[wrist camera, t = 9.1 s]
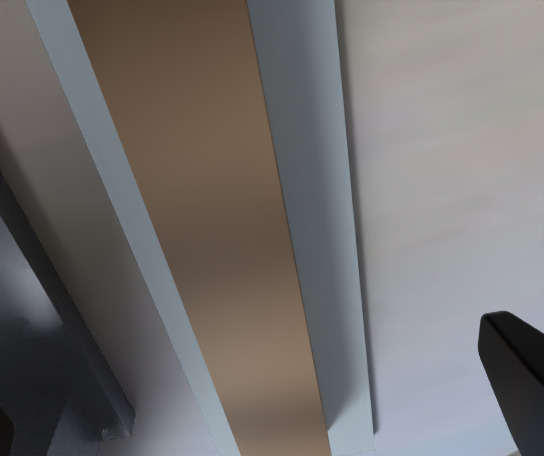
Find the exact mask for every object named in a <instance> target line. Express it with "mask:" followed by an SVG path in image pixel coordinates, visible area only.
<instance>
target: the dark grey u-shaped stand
mask: <svg viewBox="0 0 544 456" xmlns="http://www.w3.org/2000/svg"><path fill="white" fill-rule="evenodd" d="M0 405H1V406H2V407H3V408H4V410H5V411H6V412H7V413H8V415H9V416H10V417H11V418H12V420H13V422H14V424H15V436H14V440H13V445H12V450H11V454H10V456H96V455H97V452H98V448H99V444H100V441H103V440H109V439H115V438H121V437H128V436H131V433H132V428H133V424H134V419H135V415H136V414H135V413H134V411H133V409H132V407H131V406H130V404H129V402H128V400H127V398H126V397H125V395H124V393H123V391H122V389H121V388H120V386H119V384H118V382H117V380H116V379H115V377H114V375H113V373H112V371H111V370H110V368H109V366H108V364H107V363H106V361H105V359H104V357H103V355H102V354H101V352H100V350H99V348H98V346H97V345H96V343H95V341H94V339H93V337H92V336H91V334H90V332H89V330H88V328H87V327H86V325H85V323H84V321H83V320H82V318H81V316H80V314H79V312H78V311H77V309H76V307H75V305H74V303H73V302H72V300H71V298H70V296H69V294H68V293H67V291H66V289H65V287H64V285H63V284H62V282H61V280H60V278H59V277H58V275H57V273H56V271H55V269H54V268H53V266H52V264H51V262H50V260H49V259H48V257H47V255H46V253H45V251H44V250H43V248H42V246H41V244H40V242H39V241H38V239H37V237H36V235H35V234H34V232H33V230H32V228H31V226H30V225H29V223H28V221H27V219H26V217H25V216H24V214H23V212H22V210H21V208H20V207H19V205H18V203H17V201H16V199H15V198H14V196H13V194H12V192H11V191H10V189H9V187H8V185H7V183H6V182H5V180H4V178H3V176H2V174H1V173H0Z"/></svg>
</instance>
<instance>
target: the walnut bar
mask: <svg viewBox="0 0 544 456" xmlns="http://www.w3.org/2000/svg"><path fill="white" fill-rule="evenodd" d="M67 3H68V5H69V8H70V11H71V13H72V16H73V18H74V21H75V24H76V26H77V29H78V31H79V34H80V37H81V39H82V42H83V45H84V47H85V50H86V52H87V55H88V58H89V60H90V63H91V65H92V68H93V71H94V73H95V76H96V78H97V81H98V84H99V86H100V89H101V92H102V94H103V97H104V99H105V102H106V105H107V107H108V110H109V112H110V115H111V118H112V120H113V123H114V126H115V128H116V131H117V133H118V136H119V139H120V141H121V144H122V146H123V149H124V152H125V154H126V157H127V159H128V162H129V165H130V167H131V170H132V173H133V175H134V178H135V180H136V183H137V186H138V188H139V191H140V193H141V196H142V199H143V201H144V204H145V207H146V209H147V212H148V214H149V217H150V220H151V222H152V225H153V227H154V230H155V233H156V235H157V238H158V240H159V243H160V246H161V248H162V251H163V254H164V256H165V259H166V261H167V264H168V267H169V269H170V272H171V274H172V277H173V280H174V282H175V285H176V287H177V290H178V293H179V295H180V298H181V301H182V303H183V306H184V308H185V311H186V314H187V316H188V319H189V321H190V324H191V327H192V329H193V332H194V335H195V337H196V340H197V342H198V345H199V348H200V350H201V353H202V355H203V358H204V361H205V363H206V366H207V368H208V371H209V374H210V376H211V379H212V382H213V384H214V387H215V389H216V392H217V395H218V397H219V400H220V402H221V405H222V408H223V410H224V413H225V416H226V418H227V421H228V423H229V426H230V429H231V431H232V434H233V436H234V439H235V442H236V444H237V447H238V449H239V452H240V455H241V456H332V454H331V449H330V443H329V437H328V431H327V426H326V421H325V415H324V410H323V405H322V399H321V394H320V389H319V383H318V378H317V373H316V367H315V362H314V356H313V351H312V346H311V340H310V335H309V330H308V324H307V319H306V314H305V308H304V303H303V298H302V292H301V287H300V281H299V276H298V271H297V265H296V260H295V255H294V249H293V244H292V239H291V233H290V228H289V223H288V217H287V212H286V206H285V201H284V196H283V190H282V185H281V180H280V174H279V169H278V164H277V158H276V153H275V148H274V142H273V137H272V131H271V126H270V121H269V115H268V110H267V105H266V99H265V94H264V89H263V83H262V78H261V72H260V67H259V62H258V56H257V51H256V46H255V40H254V35H253V30H252V24H251V19H250V14H249V8H248V3H247V0H67Z"/></svg>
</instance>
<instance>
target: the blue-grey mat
mask: <svg viewBox="0 0 544 456" xmlns="http://www.w3.org/2000/svg"><path fill="white" fill-rule="evenodd" d="M25 1H26V4H27V6H28V8H29V11H30V13H31V15H32V18H33V20H34V22H35V25H36V27H37V29H38V32H39V34H40V36H41V39H42V41H43V44H44V46H45V48H46V51H47V53H48V55H49V58H50V60H51V62H52V65H53V67H54V69H55V72H56V74H57V76H58V79H59V81H60V83H61V86H62V88H63V90H64V93H65V95H66V97H67V100H68V102H69V104H70V107H71V109H72V111H73V114H74V116H75V118H76V121H77V123H78V126H79V128H80V130H81V133H82V135H83V137H84V140H85V142H86V144H87V147H88V149H89V151H90V154H91V156H92V158H93V161H94V163H95V165H96V168H97V170H98V172H99V175H100V177H101V179H102V182H103V184H104V186H105V189H106V191H107V193H108V196H109V198H110V200H111V203H112V205H113V207H114V210H115V212H116V215H117V217H118V219H119V222H120V224H121V226H122V229H123V231H124V233H125V236H126V238H127V240H128V243H129V245H130V247H131V250H132V252H133V254H134V257H135V259H136V261H137V264H138V266H139V268H140V271H141V273H142V275H143V278H144V280H145V282H146V285H147V287H148V289H149V292H150V294H151V297H152V299H153V301H154V304H155V306H156V308H157V311H158V313H159V315H160V318H161V320H162V322H163V325H164V327H165V329H166V332H167V334H168V336H169V339H170V341H171V343H172V346H173V348H174V350H175V353H176V355H177V357H178V360H179V362H180V364H181V367H182V369H183V371H184V374H185V376H186V379H187V381H188V383H189V386H190V388H191V390H192V393H193V395H194V397H195V400H196V402H197V404H198V407H199V409H200V411H201V414H202V416H203V418H204V421H205V423H206V425H207V428H208V430H209V432H210V435H211V437H212V439H213V442H214V444H215V446H216V449H217V451H218V453H219V456H241V455H240V452H239V449H238V447H237V444H236V442H235V439H234V436H233V434H232V431H231V429H230V426H229V423H228V421H227V418H226V416H225V413H224V410H223V408H222V405H221V402H220V400H219V397H218V395H217V392H216V389H215V387H214V384H213V382H212V379H211V376H210V374H209V371H208V368H207V366H206V363H205V361H204V358H203V355H202V353H201V350H200V348H199V345H198V342H197V340H196V337H195V335H194V332H193V329H192V327H191V324H190V321H189V319H188V316H187V314H186V311H185V308H184V306H183V303H182V301H181V298H180V295H179V293H178V290H177V287H176V285H175V282H174V280H173V277H172V274H171V272H170V269H169V267H168V264H167V261H166V259H165V256H164V254H163V251H162V248H161V246H160V243H159V240H158V238H157V235H156V233H155V230H154V227H153V225H152V222H151V220H150V217H149V214H148V212H147V209H146V207H145V204H144V201H143V199H142V196H141V193H140V191H139V188H138V186H137V183H136V180H135V178H134V175H133V173H132V170H131V167H130V165H129V162H128V159H127V157H126V154H125V152H124V149H123V146H122V144H121V141H120V139H119V136H118V133H117V131H116V128H115V126H114V123H113V120H112V118H111V115H110V112H109V110H108V107H107V105H106V102H105V99H104V97H103V94H102V92H101V89H100V86H99V84H98V81H97V78H96V76H95V73H94V71H93V68H92V65H91V63H90V60H89V58H88V55H87V52H86V50H85V47H84V45H83V42H82V39H81V37H80V34H79V31H78V29H77V26H76V24H75V21H74V18H73V16H72V13H71V11H70V8H69V5H68V3H67V0H25ZM247 3H248V8H249V14H250V19H251V24H252V30H253V35H254V40H255V46H256V51H257V56H258V62H259V67H260V72H261V78H262V83H263V89H264V94H265V99H266V105H267V110H268V115H269V121H270V126H271V131H272V137H273V142H274V148H275V153H276V158H277V164H278V169H279V174H280V180H281V185H282V190H283V196H284V201H285V206H286V212H287V217H288V223H289V228H290V233H291V239H292V244H293V249H294V255H295V260H296V265H297V271H298V276H299V281H300V287H301V292H302V298H303V303H304V308H305V314H306V319H307V324H308V330H309V335H310V340H311V346H312V351H313V356H314V362H315V367H316V373H317V378H318V383H319V389H320V394H321V399H322V405H323V410H324V415H325V421H326V426H327V431H328V437H329V443H330V449H331V454H332V456H343V455H350V454H356V453H363V452H369V451H375V445H374V434H373V423H372V412H371V401H370V390H369V379H368V368H367V357H366V346H365V335H364V324H363V313H362V302H361V291H360V280H359V269H358V258H357V247H356V236H355V225H354V214H353V203H352V192H351V181H350V170H349V159H348V148H347V137H346V126H345V115H344V104H343V93H342V82H341V71H340V60H339V49H338V38H337V28H336V17H335V6H334V0H247Z"/></svg>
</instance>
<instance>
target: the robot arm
mask: <svg viewBox="0 0 544 456" xmlns="http://www.w3.org/2000/svg"><path fill="white" fill-rule="evenodd" d="M478 352H479V356H480V359H481V362H482V364H483V366H484V369H485V371H486V374H487V376H488V379H489V381H490V384H491V386H492V389H493V391H494V394H495V396H496V398H497V401H498V403H499V406H500V408H501V411H502V413H503V416H504V418H505V421H506V423H507V426H508V428H509V430H510V433H511V435H512V437H513V440H514V442H515V444H516V446H517V448H518V450H519V452H520V454H521V456H544V333H542V332H541V331H539V330H537V329H536V328H534V327H533V326H531V325H529V324H528V323H526V322H525V321H523V320H521V319H520V318H518V317H517V316H515V315H514V314H512V313H510V312H508V311H498V312H492V313H486V314H484V315H483V316H482V317H481V320H480V329H479V339H478ZM14 436H15V424H14V422H13V420H12V418H11V417H10V416H9V415H8V413H7V412H6V411H5V410H4V408H3V407H2V406H1V405H0V456H10V454H11V450H12V445H13V440H14Z"/></svg>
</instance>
